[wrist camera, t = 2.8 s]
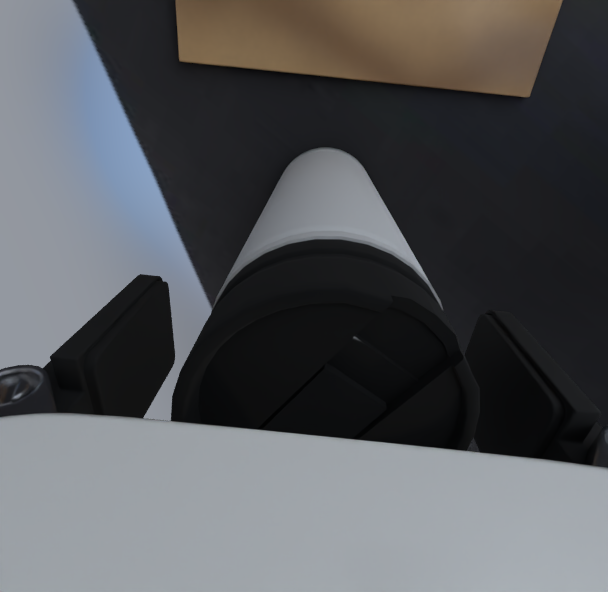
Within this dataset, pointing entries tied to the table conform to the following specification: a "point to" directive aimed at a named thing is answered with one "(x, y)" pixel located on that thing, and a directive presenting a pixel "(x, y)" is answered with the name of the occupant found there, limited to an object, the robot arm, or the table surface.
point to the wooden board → (376, 39)
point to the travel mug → (330, 325)
